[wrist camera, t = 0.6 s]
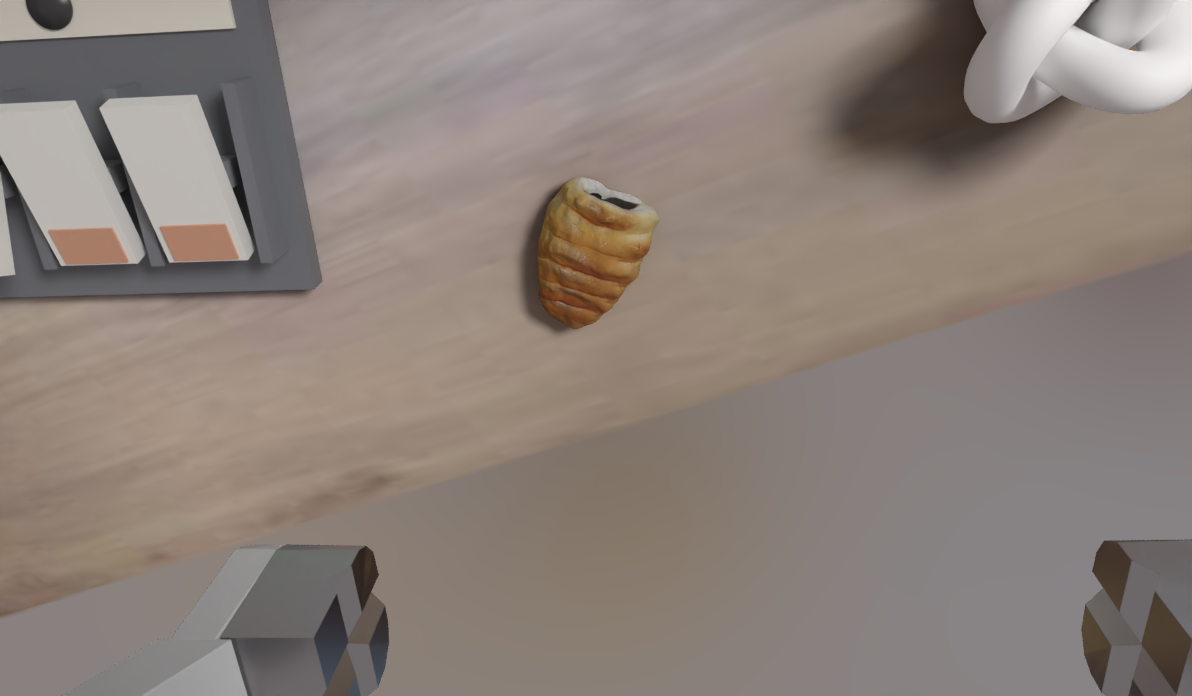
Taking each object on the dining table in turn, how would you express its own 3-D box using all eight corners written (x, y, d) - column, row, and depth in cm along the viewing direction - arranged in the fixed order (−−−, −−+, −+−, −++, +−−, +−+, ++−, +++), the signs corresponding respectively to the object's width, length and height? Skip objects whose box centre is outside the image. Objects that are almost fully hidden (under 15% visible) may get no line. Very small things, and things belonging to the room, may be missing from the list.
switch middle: (-10, 104, 49) (-25, 114, 48) (75, 100, 49) (62, 110, 48) (71, 254, 55) (60, 267, 54) (146, 252, 55) (137, 264, 54)
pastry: (614, 331, 59) (610, 356, 55) (517, 297, 58) (507, 320, 55) (665, 202, 55) (664, 219, 51) (561, 164, 54) (554, 179, 51)
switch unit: (-162, -102, 50) (-226, -106, 47) (241, -131, 48) (207, -137, 45) (-18, 290, 60) (-61, 312, 57) (322, 281, 58) (299, 303, 55)
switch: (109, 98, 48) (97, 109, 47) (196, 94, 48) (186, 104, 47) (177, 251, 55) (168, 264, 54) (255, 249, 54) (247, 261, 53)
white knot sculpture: (1012, 169, 52) (1075, 211, 44) (877, 23, 49) (918, 39, 41) (1186, 19, 48) (1291, 35, 40) (1050, -149, 45) (1134, -169, 37)
